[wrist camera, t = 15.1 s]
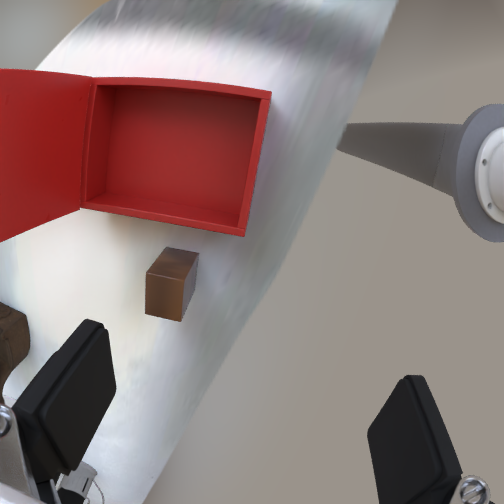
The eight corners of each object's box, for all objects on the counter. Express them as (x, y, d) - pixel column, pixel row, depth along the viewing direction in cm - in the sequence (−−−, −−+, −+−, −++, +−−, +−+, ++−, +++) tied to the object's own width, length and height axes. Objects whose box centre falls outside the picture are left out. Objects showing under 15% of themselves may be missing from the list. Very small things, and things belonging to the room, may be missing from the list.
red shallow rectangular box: (271, 97, 30) (271, 91, 25) (247, 221, 35) (244, 237, 30) (114, 82, 29) (91, 77, 24) (102, 196, 34) (79, 207, 30)
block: (199, 253, 36) (184, 280, 30) (194, 290, 38) (181, 322, 32) (166, 246, 36) (145, 272, 30) (163, 283, 38) (144, 314, 32)
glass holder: (65, 454, 61) (46, 494, 47) (110, 470, 61) (94, 514, 47) (75, 469, 65) (58, 506, 51) (117, 483, 64) (103, 524, 51)
